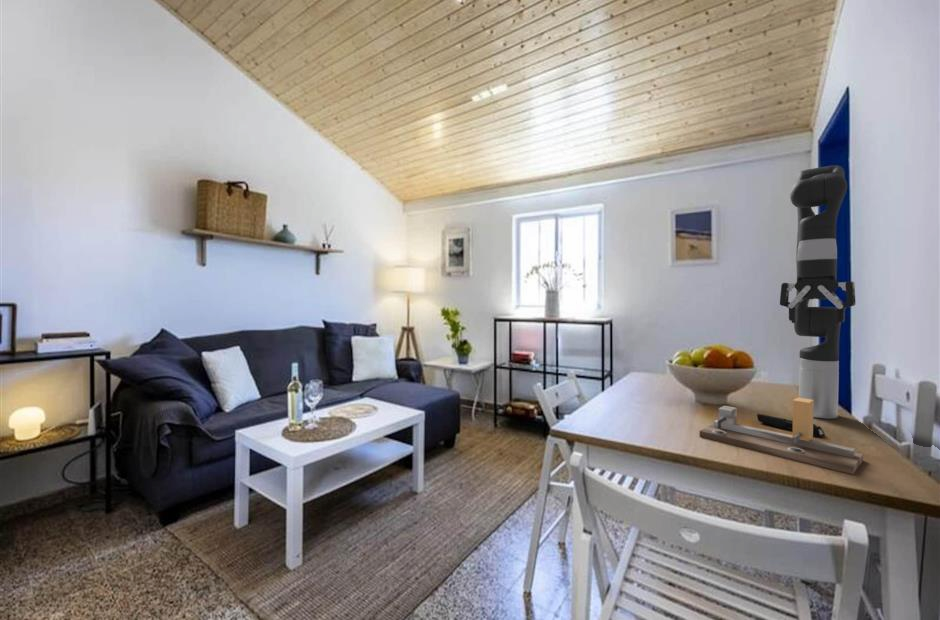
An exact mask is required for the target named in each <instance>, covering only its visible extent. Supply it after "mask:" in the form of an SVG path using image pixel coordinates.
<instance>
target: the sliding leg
mask: <svg viewBox="0 0 940 620" xmlns="http://www.w3.org/2000/svg"><path fill="white" fill-rule="evenodd" d="M813 408H814V400H811V399H804V398H799V397H796V398H794V399H793V400H792V421H793V430H792V432H791V433H792V434H791V435H792V438H794V445H795V446H798V439H800V440H805V441H809V440H813V438H814V435H813V424H814V417H813Z"/></svg>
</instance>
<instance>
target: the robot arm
mask: <svg viewBox="0 0 940 620" xmlns="http://www.w3.org/2000/svg"><path fill="white" fill-rule="evenodd" d="M845 176H846V174H845V170H844V168H843V167H842V166H840V165H836V164H835V165H827V166H820V167H814V168H808V169H804V170H801V171H800V172H799V173H798V174H797V176H796V182H795V183H794V184H793V186H792V187H791V190H790V193H789V194H790V195H789V196H790V197H789V198H790V202H791V204H792V205H793V206H794V207H795V208H796V209H797V235H796V236H797V237H796V253H795V254H796V262H795V263H796V281H795V283H792V282H791V283H789V282H782V283H781V286H780V294H779V295H780V299H779V305H780V306H781V307H784V308H785V307H786V308H787V309H788V320H789V321H790V322H791V323H792V324H793V328H794V332H795V334H796V335H797V336H799V337H813V338H825V340H824V341H822V342H821V343H819V344H817V345H813V346H807V347H803V348H801V349H800V351H799V366H798V367H799V368H798V369H799V370H798V371H799V372H798V374H799V375H798V377H799V378H798V398H804V399H811V400H814V408H813V418H818V419H827V420H828V419H830V420H831V419H838V417H839V416H838V415H839V379H840V378H839V377H840V376H839V375H840V373H839V372H840V371H839V369H840V365H839V364H840V361H839V360H840V335H841V326H842V325H841V324H842V323H844V322H845V320H846V319H845V317H846V309H847V308H850V307H854V306H855V305H856V290H855V288H856V287H855V282H854V281H852V280H850V281H849V280H847V281H843V282H841V281H840V282H839V281H838V280H837V274H838V272H837V271H838V245H837V222H838V216H839V213H840V212H839V211H840V209H841V205H842V204H843V201H844V198H845V196H846V193H847V189H848V182H847V180H846V177H845ZM823 206H825V209H824V210H823V211H822V212H820V213H818V214H815V212H814V211H813V209H812V208H815V207H816V208H817V207H823ZM839 287H840V288H841V289H842V291H845V295H846V299H845V300H846V302H843V301H842V300H841V299H840V298H839V296H837V294H835V292H836V290H837V289H838V288H839ZM793 289H796V291H795V293H796V294H795V296H794V298H793V300H791V302H790V301H789V297H790V292H792V291H793ZM826 299H827V300H828V301H830V302H831V303H832V304H833V305H834V306H835V307H834V306H809V301H810V300H826Z"/></svg>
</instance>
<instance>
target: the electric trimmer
mask: <svg viewBox="0 0 940 620" xmlns="http://www.w3.org/2000/svg"><path fill="white" fill-rule="evenodd" d="M756 417H757V418H756V419H757V421H758V422H760V423H763V424H765V425H769V426H772V427H775V428H778V429H782V430H791V431H793V420H790V419H786V418H782V417H777V416H772V415H767V414H761V413H757V414H756ZM825 436H826V434H825V432H824V430H823V429H822V427H821V426H817V425H816V424H815V423H813V437H815V438H821V439H822V438H824V437H825Z"/></svg>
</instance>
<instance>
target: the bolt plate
mask: <svg viewBox="0 0 940 620" xmlns="http://www.w3.org/2000/svg"><path fill="white" fill-rule="evenodd" d="M737 414H738V407H733V406H728V405H723V406H721V407H718V419H716V420H714V421H713V423H712V424H710V425H708V426H706V427H704V428H702V429H701V430H700V429H699V437H700V438H705V439H709V440H713V441H717V442H722V443H726V444H730V445H733V446H738V447H742V448H745V449H750V450H753V451H757V452H761V453H765V454H770V455H774V456H778V457H781V458H785V459H790V460H794V461H797V462H802V463H806V464H810V465H814V466H819V467H822V468H826V469H831V470H834V471H838V472H843V473H847V474H850V475H855V473H856V471H857V470H858V468H859V467H860V465H861V464H862V463H863V461H864V453H860V452H857V451H856V448H853V447H850V446H849V447H848V446H844V445H839V444H833V443H830V442H825V441H822V440H821V441H820V440H816V439H811V440H809V441H805V440H800V439H798V446H795V445H794V438H792V434H788V433H787V434H786V433H783V432H782V433H781V432H778V431H772V430H768V429H764V428H763V429H762V428H757V427H753V426H749V425H744V424H738V423H737V421H738V418H737V417H738V415H737Z"/></svg>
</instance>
